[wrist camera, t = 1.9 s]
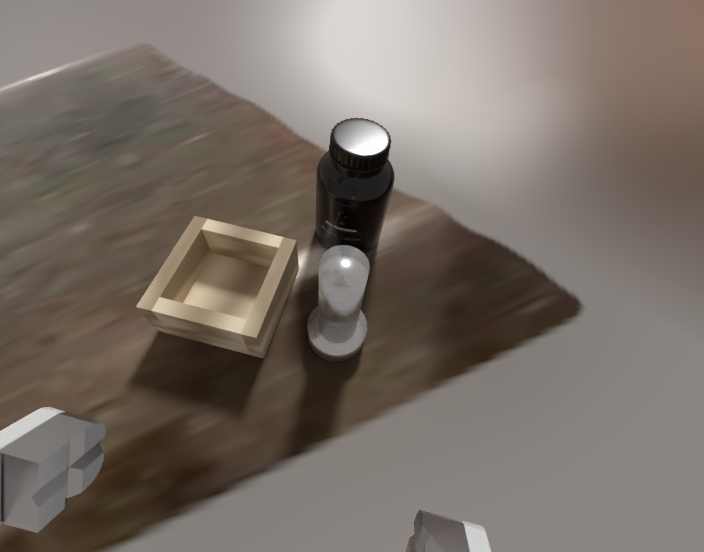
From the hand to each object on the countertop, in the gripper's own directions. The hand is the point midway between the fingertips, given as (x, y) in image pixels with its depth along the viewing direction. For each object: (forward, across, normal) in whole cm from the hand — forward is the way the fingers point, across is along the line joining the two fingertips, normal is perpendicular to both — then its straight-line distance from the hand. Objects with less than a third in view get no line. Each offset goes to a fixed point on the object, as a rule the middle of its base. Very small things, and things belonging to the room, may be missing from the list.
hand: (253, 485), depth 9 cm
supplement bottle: (+31, +2, -3) cm, 31 cm away
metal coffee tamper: (+22, +1, +5) cm, 23 cm away
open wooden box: (+23, +10, +4) cm, 25 cm away
